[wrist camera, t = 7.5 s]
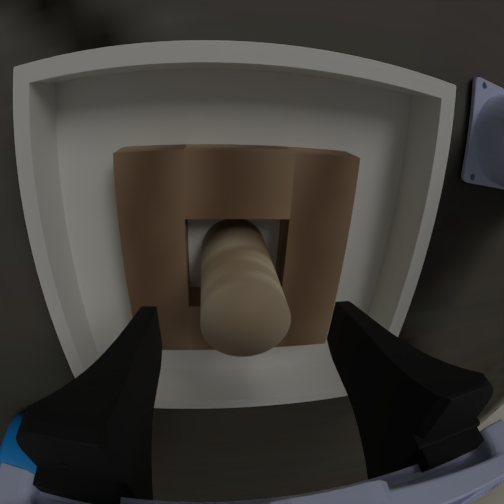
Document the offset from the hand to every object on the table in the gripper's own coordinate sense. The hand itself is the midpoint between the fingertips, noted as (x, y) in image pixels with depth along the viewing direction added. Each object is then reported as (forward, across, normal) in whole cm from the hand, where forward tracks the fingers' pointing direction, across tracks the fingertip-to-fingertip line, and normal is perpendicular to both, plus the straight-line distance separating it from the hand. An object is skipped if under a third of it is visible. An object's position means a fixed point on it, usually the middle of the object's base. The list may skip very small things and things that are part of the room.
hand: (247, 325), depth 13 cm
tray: (+8, 0, 0) cm, 8 cm away
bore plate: (+8, 0, 0) cm, 8 cm away
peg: (+7, 0, 0) cm, 7 cm away
